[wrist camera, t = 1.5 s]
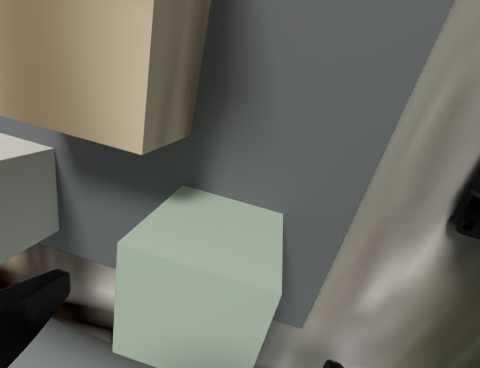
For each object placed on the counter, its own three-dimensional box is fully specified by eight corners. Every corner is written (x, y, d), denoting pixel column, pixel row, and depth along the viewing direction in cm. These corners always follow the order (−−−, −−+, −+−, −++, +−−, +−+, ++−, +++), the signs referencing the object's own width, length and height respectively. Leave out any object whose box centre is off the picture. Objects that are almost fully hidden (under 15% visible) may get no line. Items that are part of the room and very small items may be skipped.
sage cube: (283, 213, 11) (281, 294, 7) (256, 292, 13) (241, 397, 9) (183, 185, 12) (117, 242, 7) (171, 265, 14) (112, 352, 9)
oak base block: (220, -65, 8) (169, -194, 5) (190, 134, 11) (142, 155, 7) (38, -101, 9) (-139, -241, 5) (50, 97, 11) (-62, 98, 8)
